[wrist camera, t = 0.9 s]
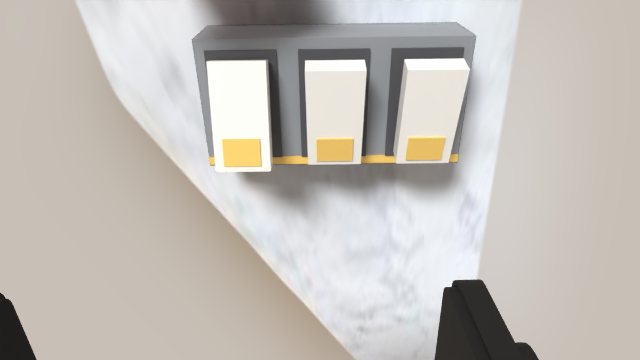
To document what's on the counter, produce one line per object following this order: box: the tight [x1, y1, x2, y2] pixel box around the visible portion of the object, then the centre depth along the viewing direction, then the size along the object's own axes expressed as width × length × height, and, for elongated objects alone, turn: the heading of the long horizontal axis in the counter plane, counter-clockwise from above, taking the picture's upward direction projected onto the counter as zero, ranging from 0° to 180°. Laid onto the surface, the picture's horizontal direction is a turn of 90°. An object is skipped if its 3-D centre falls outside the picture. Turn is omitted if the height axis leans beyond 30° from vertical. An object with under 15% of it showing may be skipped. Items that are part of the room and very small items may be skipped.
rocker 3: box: [393, 58, 470, 164], centre depth 29 cm, size 7×4×2 cm, turn 1°
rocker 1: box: [206, 60, 273, 172], centre depth 29 cm, size 7×4×2 cm, turn 1°
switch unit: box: [192, 22, 476, 166], centre depth 33 cm, size 9×18×5 cm, turn 91°
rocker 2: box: [305, 60, 367, 165], centre depth 29 cm, size 7×4×2 cm, turn 0°
